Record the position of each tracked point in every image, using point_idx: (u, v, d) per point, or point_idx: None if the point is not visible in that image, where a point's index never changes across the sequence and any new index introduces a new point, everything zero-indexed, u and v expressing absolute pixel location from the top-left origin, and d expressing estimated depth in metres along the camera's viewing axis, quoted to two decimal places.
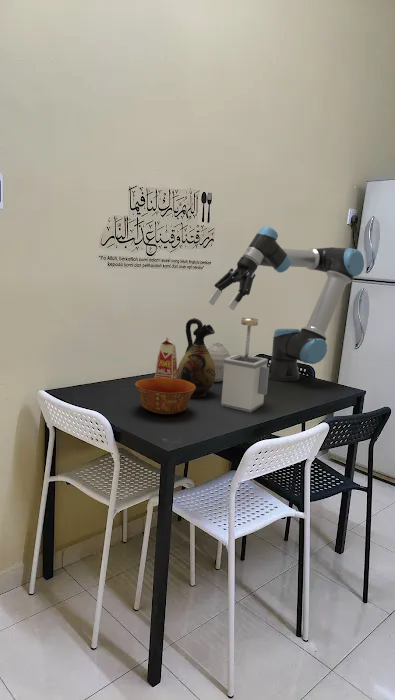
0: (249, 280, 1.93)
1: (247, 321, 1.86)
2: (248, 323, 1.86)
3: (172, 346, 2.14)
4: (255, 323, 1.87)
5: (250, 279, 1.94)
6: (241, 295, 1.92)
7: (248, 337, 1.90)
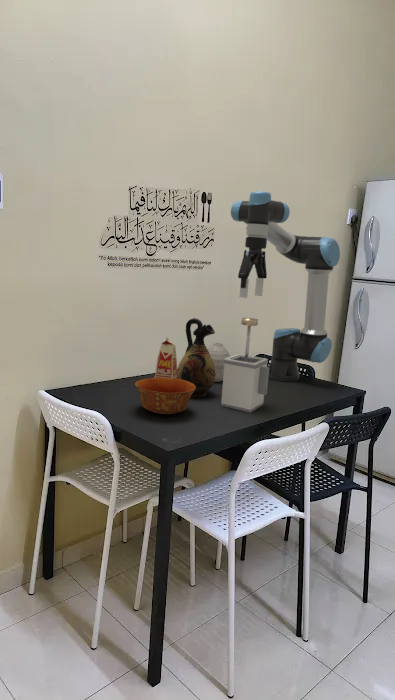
0: (243, 261, 1.79)
1: (247, 321, 1.86)
2: (248, 323, 1.86)
3: (172, 346, 2.14)
4: (255, 323, 1.87)
5: (245, 259, 1.79)
6: (242, 280, 1.79)
7: (248, 337, 1.90)
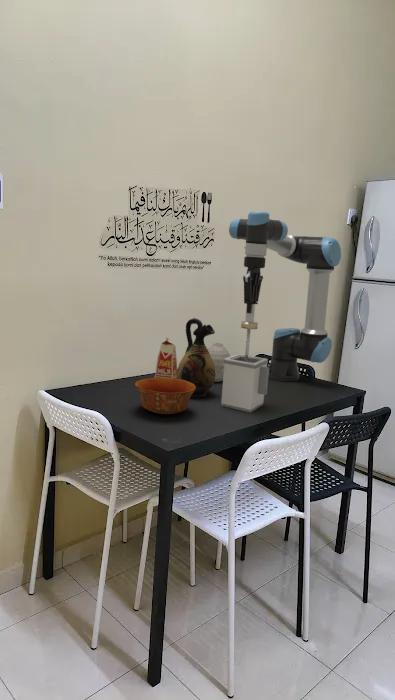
0: (245, 288, 1.83)
1: (247, 325, 1.86)
2: (248, 327, 1.86)
3: (172, 346, 2.14)
4: (255, 327, 1.87)
5: (246, 285, 1.82)
6: (248, 306, 1.86)
7: (248, 341, 1.90)
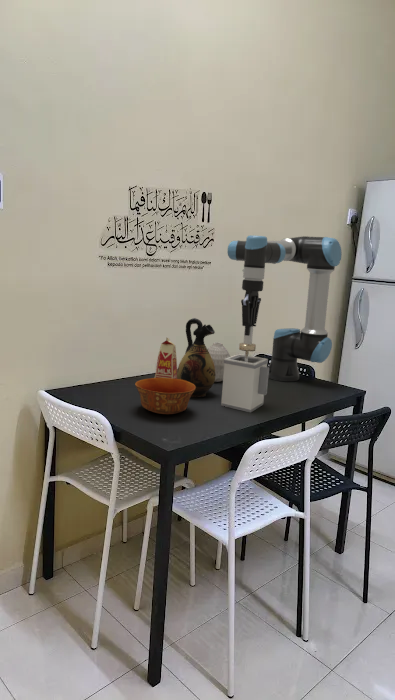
0: (243, 311, 1.84)
1: (245, 347, 1.88)
2: (246, 349, 1.88)
3: (172, 346, 2.14)
4: (253, 349, 1.89)
5: (244, 309, 1.84)
6: (246, 328, 1.88)
7: None
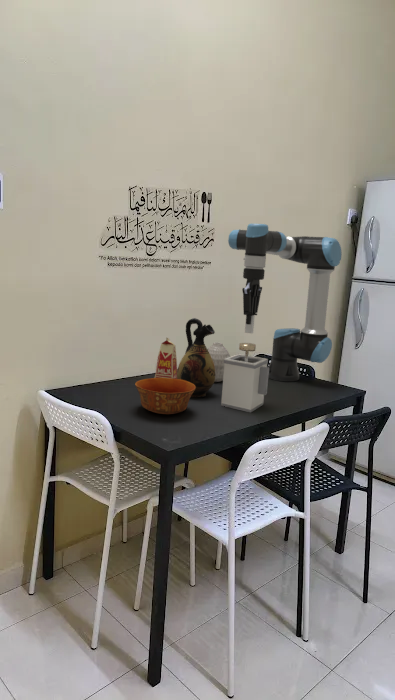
0: (244, 299, 1.84)
1: (245, 347, 1.88)
2: (246, 349, 1.88)
3: (172, 346, 2.14)
4: (253, 349, 1.89)
5: (245, 297, 1.83)
6: (247, 317, 1.87)
7: None
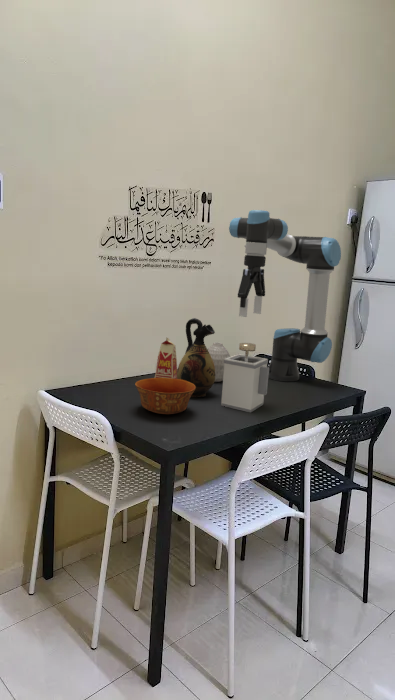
0: (242, 280, 1.80)
1: (245, 347, 1.88)
2: (246, 349, 1.88)
3: (172, 346, 2.14)
4: (253, 349, 1.89)
5: (244, 278, 1.80)
6: (242, 300, 1.81)
7: None
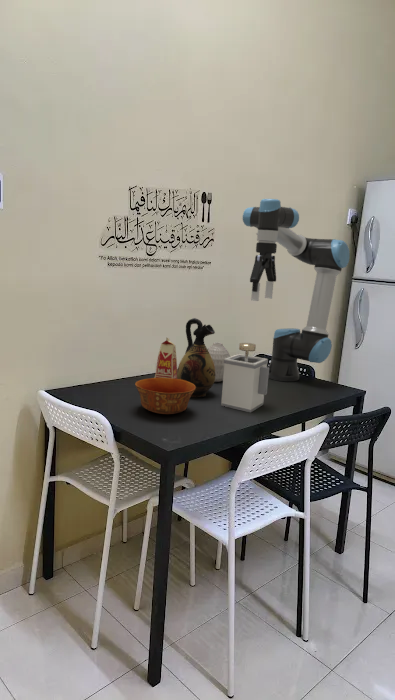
0: (255, 266, 1.87)
1: (245, 347, 1.88)
2: (246, 349, 1.88)
3: (172, 346, 2.14)
4: (253, 349, 1.89)
5: (256, 264, 1.87)
6: (254, 284, 1.88)
7: None
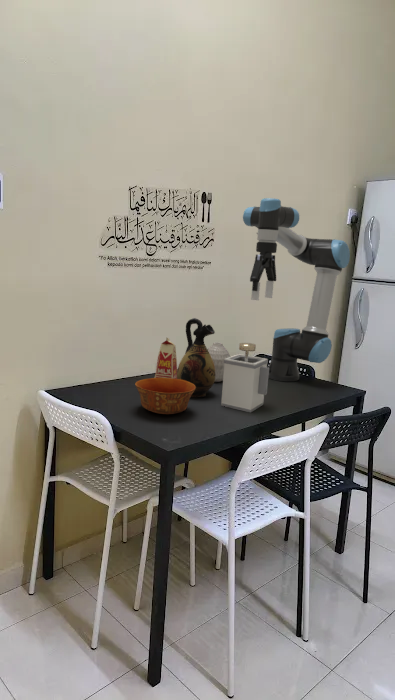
0: (255, 265, 1.87)
1: (245, 347, 1.88)
2: (246, 349, 1.88)
3: (172, 346, 2.14)
4: (253, 349, 1.89)
5: (256, 263, 1.87)
6: (254, 283, 1.88)
7: None
